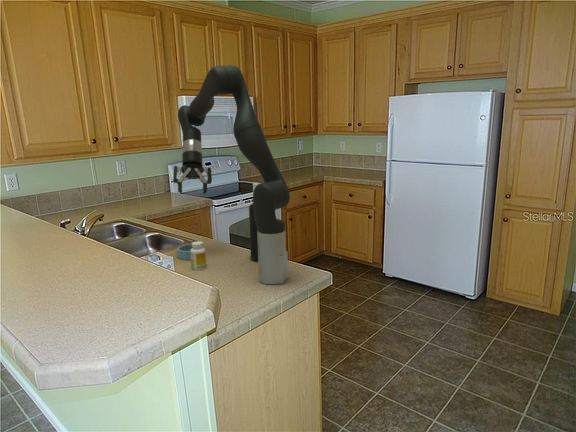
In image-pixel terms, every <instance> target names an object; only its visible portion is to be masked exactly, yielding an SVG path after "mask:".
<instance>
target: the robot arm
mask: <svg viewBox="0 0 576 432" xmlns="http://www.w3.org/2000/svg"><path fill="white" fill-rule="evenodd" d="M219 95H220V96H224V95H225V96H226V95H227V96H229V95H232V96H233V98H234V102H235V105H236V113H235V117H234V122H233V129H232V130H233V131H232V132H233V136H234V138H235V141H236V143H237V146H238V149H239V151H240V152H241V153H242V155H243V156H244V158H245V159H247V160H248V161H249V162H250V163H251V164H252V165H253V166H254V167H255V169H257V170H258V172H259V173H260V175H261V177H262V180H263V181H264V182H261V183H258V185H257V186H256V187H255V189H254V192H253V191H252V204H253V207H254V219H255V223H256V225H257V238H258V262H257V265H258V267H257V268H258V281H259V282H260V283H262V284H264V285H279V284H281V285H282V284H284V283H285V282H286V280H287V279H288V277H289V268H288V265H289V264H288V261H289V260H288V258H289V257H288V250H286V223H285V221H284V220H282V219H279V218H277V216H276V210H279V209H283V208H285V207H287V206H288V205H289V203H290V201H291V199H290V198H291V194H290V191H289V188H288V185H287V183H286V181H285V179H284V177H283V175H282V173H281V172H280V170H279V167H278V165H277V163H276V162H275V159H274V157H273V154H272V152H271V149H270V148H269V144H268V143H267V139H266V136H265V134H264V131H263V129H262V126H261V125H260V121H259V120H258V117H257V114H256V112H255V109H254V107H253V104H252V100H251V99H250V94H249V90H248V87H247V84H246V81H245V77H244V75H243V73H242V70H241V69H240V68H239V67H238V66H237V65H234V64H232V65H230V64H229V65H216V66H212V67H211V68H210V69H209V70H208V71H207V73H206V75H205V78H204V80H203V82H202V84H201V87H200V90H199V92H198V93H197V95H196V96H195V97H193V100H191V102H190V104H189V105H186V104H185V105H181V106H180V107H179V109H178V111H177V118H178V122H179V126H180V129H181V131H182V147H181V150H182V151H181V154H182V155H181V158H182V159H181V162H182V163H181V167H180V166H177V165H174V167H173V175H172V176H173V177H172V182H173V183H174V184H177V192H178V193H179V195H180V194H183V182H185V180H186V179H187V180H199V182H201V183H202V194H203V195H205V194H207V192H208V185H211V184H212V181H213V179H212V177H213V176H212V168H211V167H207V168H204V166H203V147H202V146H203V145H202V132H201V129H200V128H198V127H201V126H203V125H204V124H205V121H206V117H207V115H208V114H209V112H210V111H211V110H212V109H213V108H214V105H215V97H216V96H219ZM180 172H182V175H181V176H180V178H178V177H177V175H178V174H179V173H180ZM203 173H205V175H207V179H206V178H205V177H204V175H203Z"/></svg>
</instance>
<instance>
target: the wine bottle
mask: <svg viewBox="0 0 576 432" xmlns="http://www.w3.org/2000/svg"><path fill="white" fill-rule="evenodd" d="M258 184H259V182H253V183H252V193H253V192H254V189H255V187H256V186H257V185H258ZM248 216H249V217H248V218H249V220H248V221H249V244H250V245H249V246H250V261H251V262H255V263H256V262H257V263H258V238H257V225H256V223H255V219H254V207H253V203H251V204H250V205H249V206H248Z"/></svg>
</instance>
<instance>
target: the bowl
mask: <svg viewBox="0 0 576 432" xmlns="http://www.w3.org/2000/svg"><path fill="white" fill-rule="evenodd" d="M192 248H193V247H192V243H190V244H188V243H187V244H182V245H180V246H178V247H176V256H177V259H178V260H180V261H191V252H190V251H191V249H192Z"/></svg>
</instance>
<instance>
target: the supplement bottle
mask: <svg viewBox="0 0 576 432" xmlns="http://www.w3.org/2000/svg"><path fill="white" fill-rule="evenodd" d="M191 244H192V247H193V248H192V249H191V251H190V252H191V260H190V261H191V262H190V264H191V265H190V266H191V269H192V270H194V271H201V270H204V269H206V268H207V256H206V248H205V247H204V242H203V241H198V240H197V241H193V242H191Z"/></svg>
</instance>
